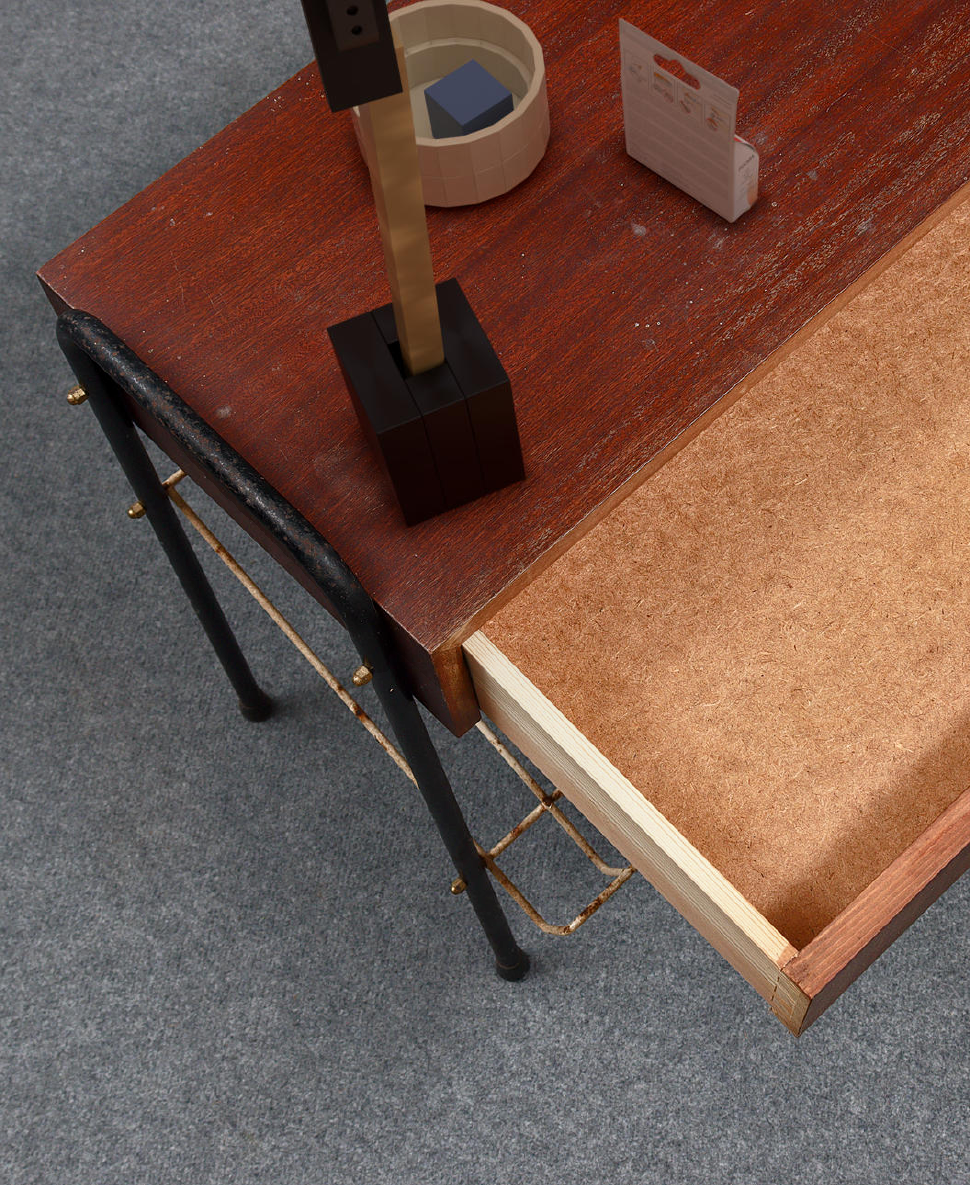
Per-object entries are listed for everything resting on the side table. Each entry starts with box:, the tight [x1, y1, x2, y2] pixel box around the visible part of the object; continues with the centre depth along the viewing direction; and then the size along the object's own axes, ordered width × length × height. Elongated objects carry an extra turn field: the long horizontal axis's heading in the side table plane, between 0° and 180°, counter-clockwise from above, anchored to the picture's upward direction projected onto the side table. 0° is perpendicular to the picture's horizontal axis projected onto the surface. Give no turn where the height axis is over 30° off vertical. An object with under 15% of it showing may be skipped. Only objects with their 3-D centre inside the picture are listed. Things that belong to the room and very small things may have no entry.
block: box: [424, 59, 514, 139], centre depth 89 cm, size 4×4×4 cm
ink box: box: [618, 17, 760, 224], centre depth 84 cm, size 3×9×12 cm, turn 48°
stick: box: [358, 23, 445, 379], centre depth 68 cm, size 2×2×30 cm
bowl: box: [348, 0, 551, 208], centre depth 89 cm, size 12×12×6 cm
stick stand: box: [325, 276, 527, 529], centre depth 77 cm, size 7×7×10 cm
